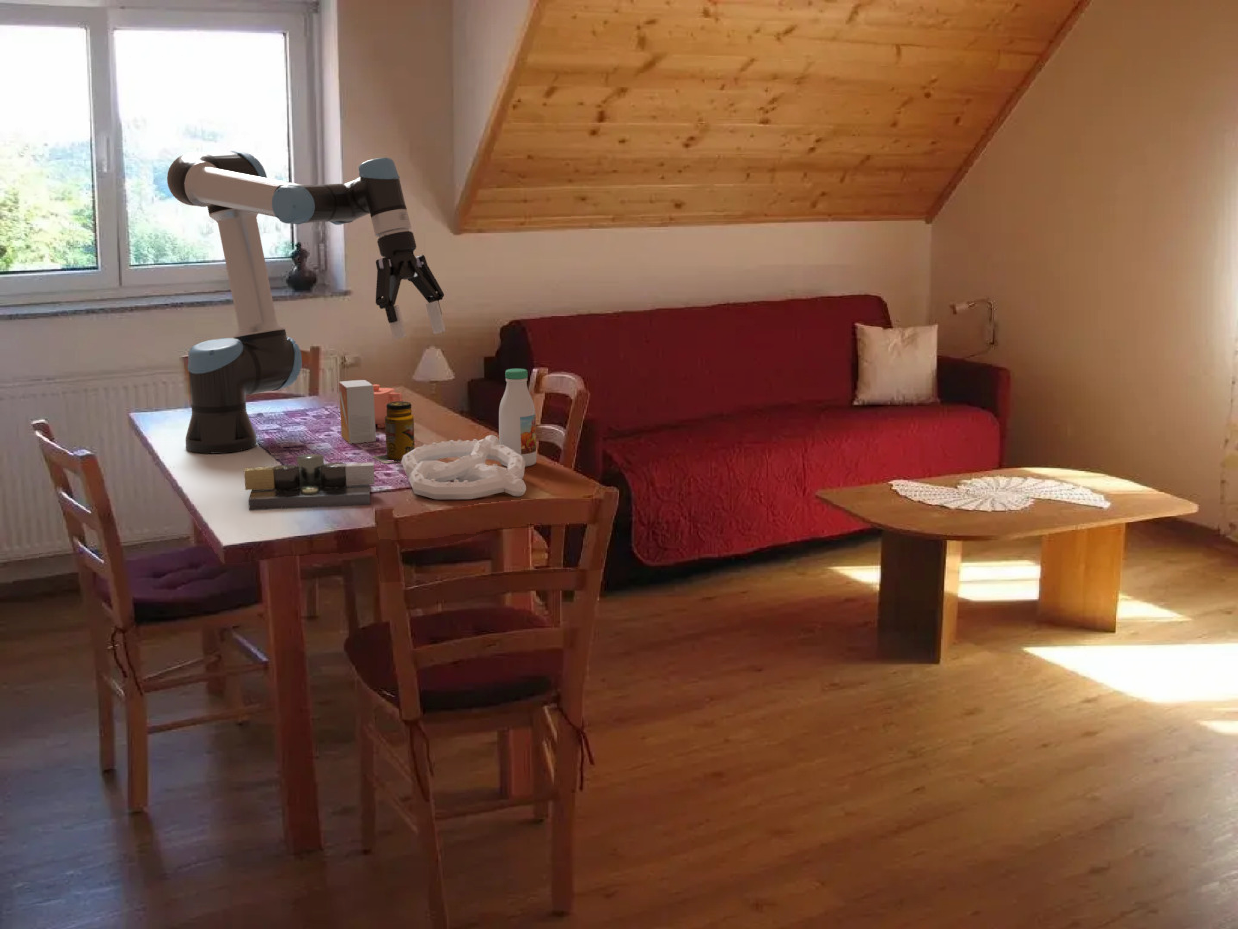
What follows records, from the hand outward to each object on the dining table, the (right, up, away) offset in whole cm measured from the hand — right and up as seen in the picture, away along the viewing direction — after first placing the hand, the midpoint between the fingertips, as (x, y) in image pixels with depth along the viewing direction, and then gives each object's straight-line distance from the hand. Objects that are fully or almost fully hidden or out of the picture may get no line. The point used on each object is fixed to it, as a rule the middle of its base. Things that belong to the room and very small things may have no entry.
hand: (420, 335), depth 288 cm
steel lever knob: (-11, -30, -19) cm, 38 cm away
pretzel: (+11, -31, -10) cm, 34 cm away
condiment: (-7, -25, +12) cm, 29 cm away
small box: (-18, -21, +31) cm, 42 cm away
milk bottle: (+20, -27, +7) cm, 34 cm away
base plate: (-18, -33, -20) cm, 42 cm away
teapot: (-18, -17, +48) cm, 54 cm away
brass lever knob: (-25, -31, -22) cm, 45 cm away
